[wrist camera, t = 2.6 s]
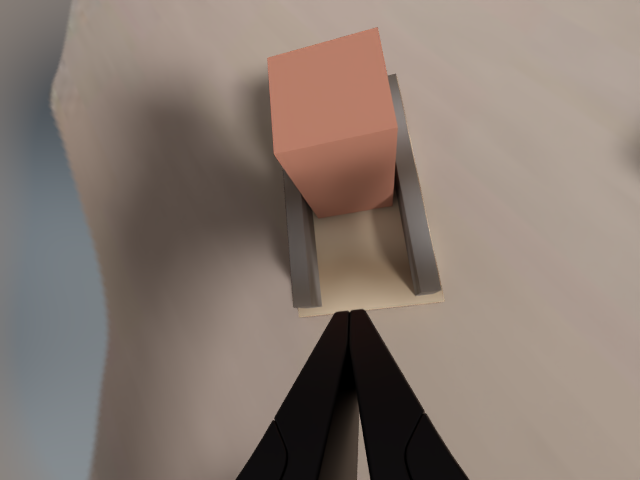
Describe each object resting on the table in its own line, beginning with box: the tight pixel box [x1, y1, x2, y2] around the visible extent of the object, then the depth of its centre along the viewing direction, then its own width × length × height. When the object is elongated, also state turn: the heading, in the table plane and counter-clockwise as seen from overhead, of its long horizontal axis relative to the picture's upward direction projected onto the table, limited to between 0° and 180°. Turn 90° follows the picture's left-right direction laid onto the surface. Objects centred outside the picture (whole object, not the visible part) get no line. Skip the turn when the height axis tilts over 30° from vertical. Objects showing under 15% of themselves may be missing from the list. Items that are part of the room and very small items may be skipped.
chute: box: [283, 74, 445, 317], centre depth 19 cm, size 16×9×4 cm, turn 6°
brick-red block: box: [267, 27, 398, 219], centre depth 16 cm, size 5×5×8 cm
